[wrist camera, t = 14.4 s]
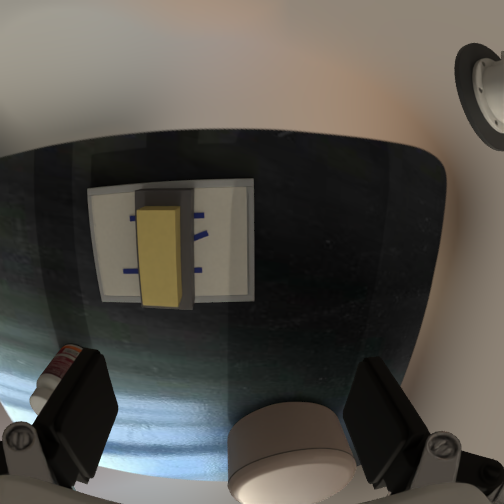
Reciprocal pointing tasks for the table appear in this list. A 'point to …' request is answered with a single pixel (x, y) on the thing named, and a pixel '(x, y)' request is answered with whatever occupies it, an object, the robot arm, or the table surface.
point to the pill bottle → (53, 376)
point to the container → (288, 455)
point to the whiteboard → (205, 239)
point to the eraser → (165, 247)
